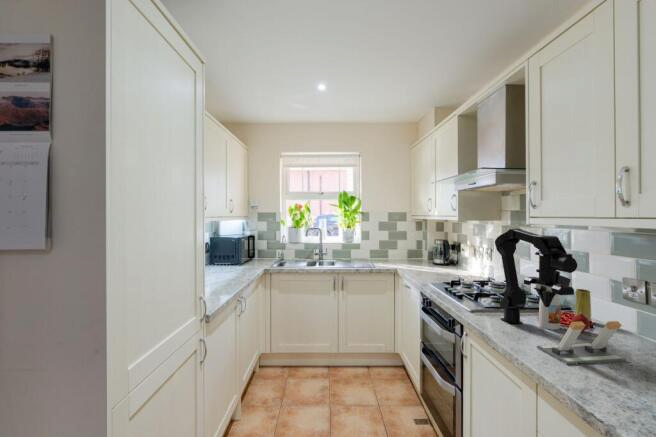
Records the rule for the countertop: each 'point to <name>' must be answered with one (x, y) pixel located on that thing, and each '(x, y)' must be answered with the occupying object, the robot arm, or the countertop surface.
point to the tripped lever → (570, 336)
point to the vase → (583, 303)
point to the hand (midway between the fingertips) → (546, 307)
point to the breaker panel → (581, 354)
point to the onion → (581, 320)
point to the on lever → (605, 335)
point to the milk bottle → (550, 314)
